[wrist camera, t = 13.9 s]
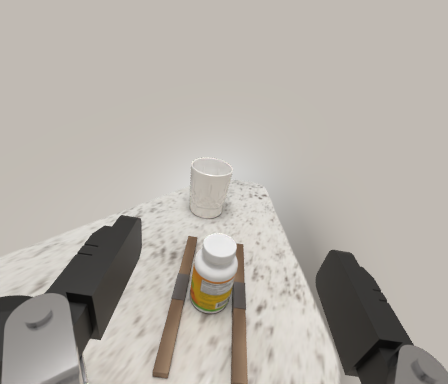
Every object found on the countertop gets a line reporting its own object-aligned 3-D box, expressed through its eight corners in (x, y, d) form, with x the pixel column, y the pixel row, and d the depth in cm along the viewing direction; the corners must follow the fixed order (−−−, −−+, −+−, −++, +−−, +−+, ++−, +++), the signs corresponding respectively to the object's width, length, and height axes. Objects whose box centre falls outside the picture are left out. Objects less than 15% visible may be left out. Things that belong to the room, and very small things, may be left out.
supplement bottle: (194, 276, 35) (202, 224, 30) (230, 284, 35) (244, 234, 30) (184, 309, 30) (191, 255, 25) (226, 319, 30) (241, 266, 25)
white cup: (214, 196, 55) (221, 156, 50) (231, 217, 49) (240, 174, 44) (181, 201, 51) (185, 158, 46) (195, 223, 45) (201, 177, 40)
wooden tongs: (152, 376, 24) (152, 371, 23) (187, 240, 41) (188, 235, 40) (246, 388, 24) (248, 383, 24) (242, 248, 41) (243, 244, 41)
